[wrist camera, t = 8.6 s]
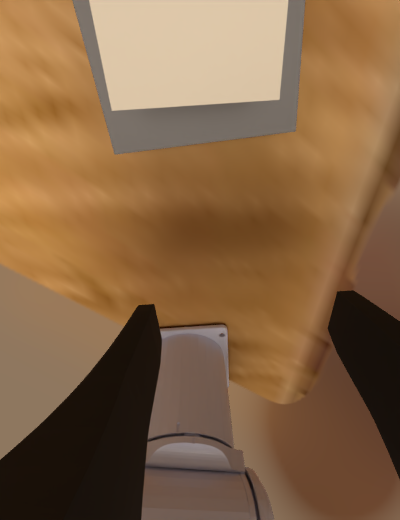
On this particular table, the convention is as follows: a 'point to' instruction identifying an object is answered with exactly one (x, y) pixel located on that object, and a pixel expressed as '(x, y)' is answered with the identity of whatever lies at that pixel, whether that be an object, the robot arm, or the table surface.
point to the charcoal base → (199, 116)
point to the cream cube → (190, 51)
